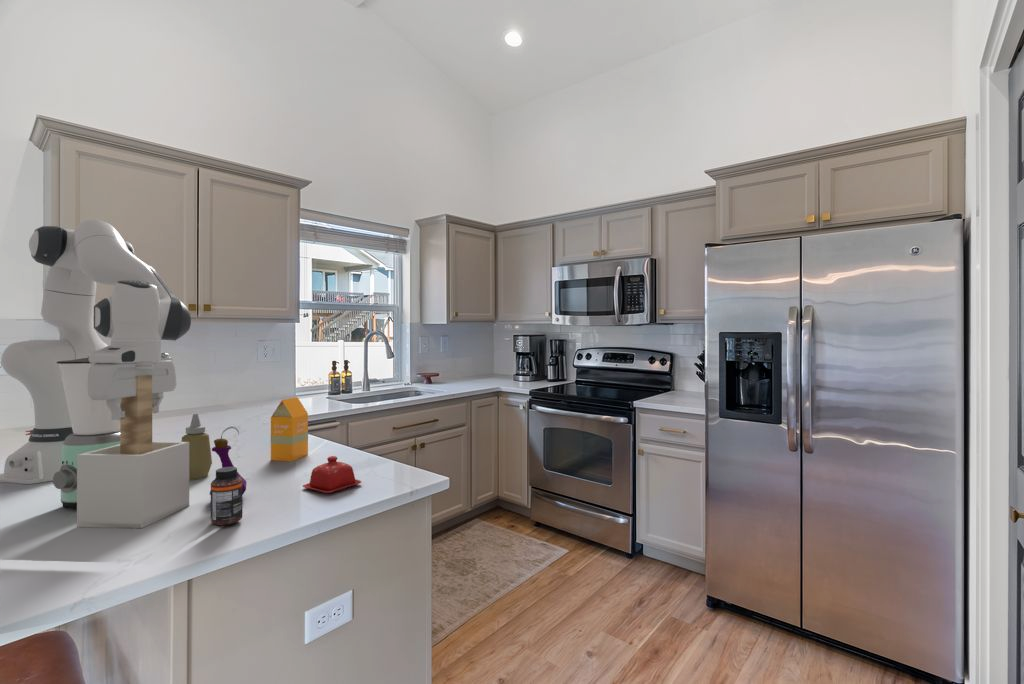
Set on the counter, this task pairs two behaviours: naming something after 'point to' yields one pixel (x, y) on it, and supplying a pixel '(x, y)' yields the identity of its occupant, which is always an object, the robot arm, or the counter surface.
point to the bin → (132, 485)
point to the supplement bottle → (226, 497)
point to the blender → (82, 426)
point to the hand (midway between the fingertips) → (136, 416)
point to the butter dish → (332, 476)
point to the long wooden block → (137, 419)
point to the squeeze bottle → (198, 449)
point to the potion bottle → (226, 455)
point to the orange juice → (289, 431)
